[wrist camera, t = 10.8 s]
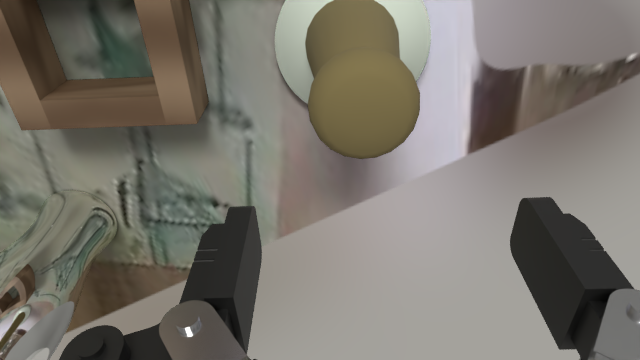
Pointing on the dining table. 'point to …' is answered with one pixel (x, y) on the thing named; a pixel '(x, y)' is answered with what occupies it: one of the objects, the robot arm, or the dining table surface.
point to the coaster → (299, 13)
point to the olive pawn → (359, 80)
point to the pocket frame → (102, 94)
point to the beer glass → (50, 273)
